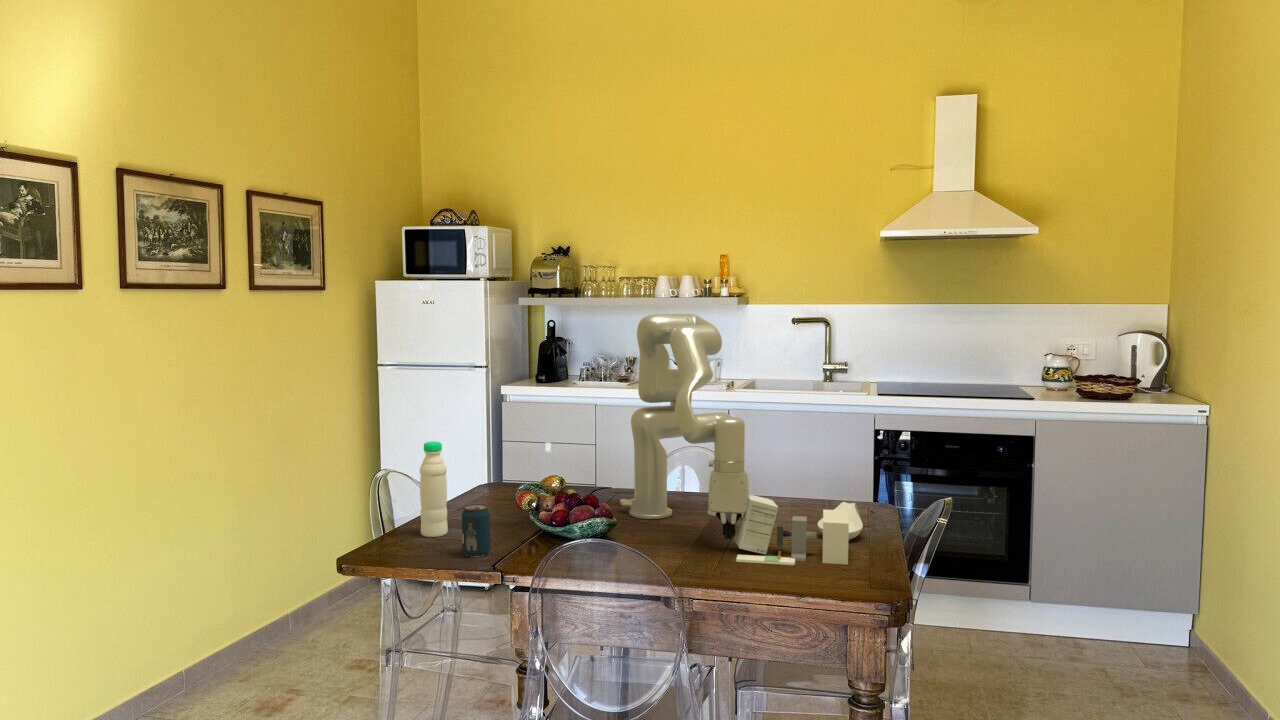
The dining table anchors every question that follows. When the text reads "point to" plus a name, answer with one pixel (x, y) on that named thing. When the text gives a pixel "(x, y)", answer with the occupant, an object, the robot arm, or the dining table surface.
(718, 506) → the robot arm
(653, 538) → the dining table surface
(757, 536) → the supplement box
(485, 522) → the soda can
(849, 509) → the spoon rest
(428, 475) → the cream plastic bottle
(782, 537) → the plunger
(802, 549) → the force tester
